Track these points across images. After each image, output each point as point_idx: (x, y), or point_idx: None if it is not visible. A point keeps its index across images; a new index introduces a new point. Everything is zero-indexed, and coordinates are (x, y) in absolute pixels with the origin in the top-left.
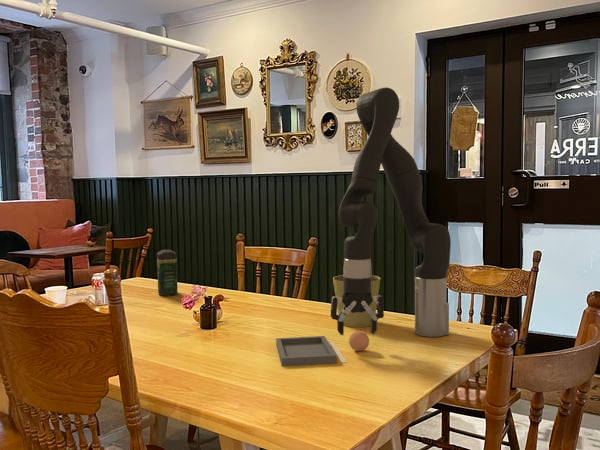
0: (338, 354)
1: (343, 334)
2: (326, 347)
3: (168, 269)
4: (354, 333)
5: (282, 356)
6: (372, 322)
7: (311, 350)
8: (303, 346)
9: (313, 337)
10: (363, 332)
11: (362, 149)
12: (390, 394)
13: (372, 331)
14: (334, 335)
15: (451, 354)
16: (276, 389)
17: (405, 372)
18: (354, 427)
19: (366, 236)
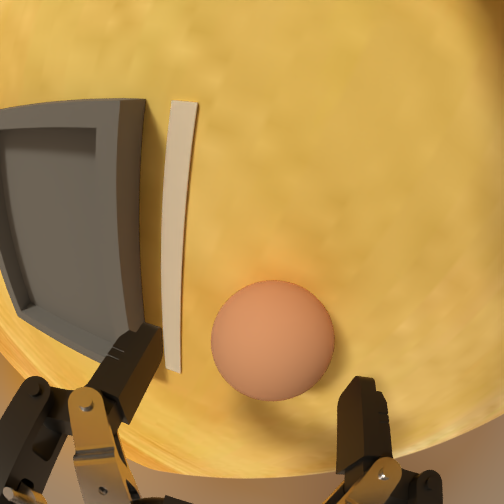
0: (167, 309)
1: (160, 359)
2: (109, 292)
3: None
4: (228, 381)
5: (15, 305)
6: (338, 464)
7: (69, 237)
8: (46, 171)
9: (63, 124)
10: (287, 397)
11: None
12: (221, 466)
13: (339, 413)
14: None
15: (490, 402)
16: (56, 379)
17: (303, 449)
18: (155, 465)
19: None
